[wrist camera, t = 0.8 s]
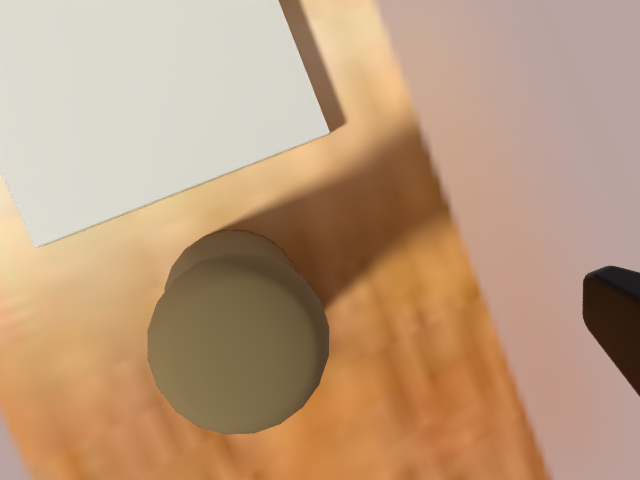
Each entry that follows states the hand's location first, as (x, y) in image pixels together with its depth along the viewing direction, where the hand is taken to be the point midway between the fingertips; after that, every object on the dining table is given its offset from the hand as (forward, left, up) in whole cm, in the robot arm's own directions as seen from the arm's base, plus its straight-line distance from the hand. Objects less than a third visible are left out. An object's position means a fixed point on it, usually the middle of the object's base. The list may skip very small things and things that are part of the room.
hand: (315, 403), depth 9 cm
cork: (-1, 0, -19) cm, 19 cm away
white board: (+9, +10, -18) cm, 23 cm away
